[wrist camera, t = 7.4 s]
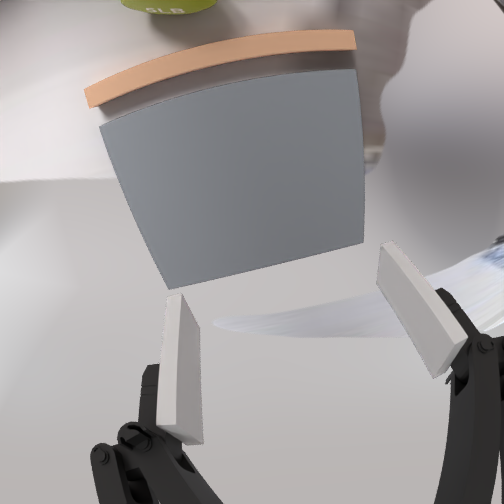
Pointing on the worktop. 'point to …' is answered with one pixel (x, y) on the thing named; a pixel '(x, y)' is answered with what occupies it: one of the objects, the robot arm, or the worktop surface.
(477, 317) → the worktop surface
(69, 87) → the worktop surface
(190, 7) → the dumbbell
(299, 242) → the board
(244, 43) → the strip
